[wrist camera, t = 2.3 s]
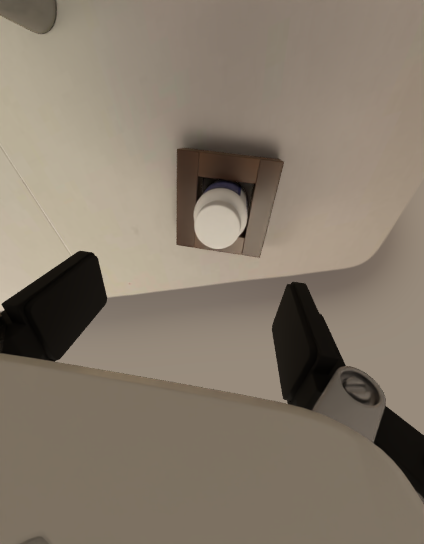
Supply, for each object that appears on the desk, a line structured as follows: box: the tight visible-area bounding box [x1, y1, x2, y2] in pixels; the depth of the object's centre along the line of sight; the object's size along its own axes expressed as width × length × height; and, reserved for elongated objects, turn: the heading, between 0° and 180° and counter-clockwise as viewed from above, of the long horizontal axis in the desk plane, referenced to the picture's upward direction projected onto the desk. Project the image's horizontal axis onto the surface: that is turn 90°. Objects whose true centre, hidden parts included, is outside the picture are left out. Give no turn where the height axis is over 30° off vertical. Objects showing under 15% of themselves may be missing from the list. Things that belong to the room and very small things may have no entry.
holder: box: [177, 148, 284, 257], centre depth 24 cm, size 10×10×3 cm
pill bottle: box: [194, 179, 248, 249], centre depth 21 cm, size 5×5×9 cm
